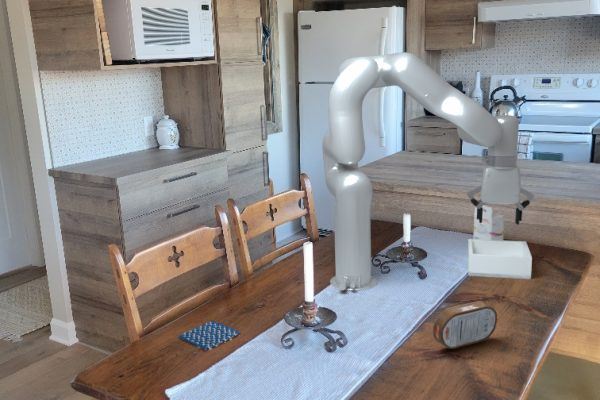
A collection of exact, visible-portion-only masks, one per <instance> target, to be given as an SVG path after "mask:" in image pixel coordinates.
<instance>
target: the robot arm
mask: <svg viewBox="0 0 600 400" xmlns="http://www.w3.org/2000/svg"><path fill="white" fill-rule="evenodd" d="M394 86H395V87H398V88H400V90H402V91H404V93H406V94H407V95H409V96H410V97H411V98H412V99H413V100H415V101H416V102H417V103H418V104H419V105H421V106H422V107H423V108H424V109H425V110H426V111H428V112H429V113H431V114H433V115H435V116H437V117H439V118H442V119H445V120H446V121H448V122H451V123H452V124H454V125H456V126H457V127H456V132H457V136H458V137H459V138H460V139H461V140H462V141H463V142H466V143H468V144H471V145H476V146H480V147H482V148H483V147H484V148H487V155H486V156H483V157H481V163H486V164H487V165H484V167H483V172H482V177H481V185H480V186H478V187H476V188H473V189H471V190H469V191H467V193H466V194H467V196H468V198H469V201H470V202H471V204H473V206H474V208H475V207H476V208H477V219H479V223H482V214H483V211H484V208H483V209H482V206H483V205H484V206H485V204H492V205H493V204H494V205H515V206H516V208H515V220H514V222H515V225H517V226H519V225H520V222H522V218H523V211H524V209H526V208H527V207H528V206H529V205H530V203H531V202H532V201H533V198H534V197H535V194H534V193H533V192H531V191H529V190H527V189H525V188H523V187H521V186H522V184H521V182H522V181H521V180H522V179H521V170H520V166H519V165H517V161H518V144H519V129H520V128H519V127H520V126H519V125H520V121H519V118H518V117H517V116H515V115H510V114H509V115H507V114H506V115H505V114H504V115H503V114H499V115H494V114H491V112H489V111H488V110H487V109H486V108H485V107H484V106H483V105H481V104H480V103H478V102H477V101H475V100H474V99H473V98H471V97H469V96H468V95H466V94H465V93H463V92H462V91H460V90H459V89H457V88H455V87H454V86H452V85H451V84H450V83H449V82H447V81H446V80H445V79H444V78H443V77H441V76H440V75H439V74H438V73H437V72H436V71H434V70H433V69H432V68H431V67H430V66H429V65H428V64H426V63H425V62H424V61H423V60H422V59H420V58H419V57H418V56H417V55H415V54H414V53H410V52H406V51H405V52H404V51H403V52H395V53H387V54H381V55H372V56H369V55H368V56H357V57H350V58H348V59H346V60H344V61H343V62H341V65H340V66H339V68H338V72H337V78H336V80H334V83H333V84H332V87H331V89H330V93H329V96H328V101H327V106H328V108H327V109H328V110H327V112H328V113H327V114H328V128H329V129H328V130H327V131H326V132H325V133H324V136H323V139H322V145H321V146H322V147H321V148H322V160H323V167H324V177H325V182H326V187H327V189H328V191H329V192H330V194H331V195H332V196H333V197H334V198H335V206H334V220H333V222H334V250H335V251H334V256H335V257H334V258H335V259H334V261H335V262H334V263H335V275H334V276H332V278H331V279H329V282H330V284H331V285H332V286H333V287H334V288H337V289H339V290H340V291H351V292H359V291H367V290H370V289H373V288H374V287H376V286H377V284H378V280H377V278H375V276H373V275H372V246H371V245H372V238H371V237H372V235H371V234H372V231H371V227H372V225H371V221H372V220H371V218H372V217H371V215H372V214H371V213H372V205H373V204H372V203H373V194H374V193H373V192H374V190H373V186H372V182H371V179H370V178H369V177H368V176H367V175H366V173H364V172H363V171H361V170H359V162H361V160H362V159H363V158H364V156H365V153H366V152H365V151H366V142H365V133H364V123H363V102H364V100H365V98H366V96H367V94H368V93H369V92H370V91H371V90H372V89H378V88H386V87H394ZM479 193H480V199H479V200H477V199H476V198H475V195H476V194H479ZM521 194H522V195H524V196H526V198H525V199H524V200H523V201H522V202H521Z"/></svg>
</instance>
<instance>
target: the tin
mask: <svg viewBox="0 0 600 400" xmlns="http://www.w3.org/2000/svg"><path fill="white" fill-rule="evenodd" d="M497 323H498V313H497V311H496V309H495V308H494V307H492V306H491V305H489V304H488V303H487V302H485V301H482V300H478V301H473V302H468V303H465V304H461V305H455V306H452V307H447V308H446V309H444V310H443V311H441V312H440V313H439V315H438V316H437V317H436V319H435V321H434V323H433V327H432V334H433V335H432V336H433V338H434V340H435V341H436V342H437V343H438V344H439V345H441V346H443V347H445V348H447V349H452V350H453V349H458V348H462V347H466V346H468V345H472V344H478V343H479V342H480V343H482V342H484V341H486V340H488V339H489V338H490V337H491V336H492V335H493V333H494V331H495V330H496V328H497Z"/></svg>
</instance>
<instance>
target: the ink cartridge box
mask: <svg viewBox="0 0 600 400" xmlns="http://www.w3.org/2000/svg"><path fill="white" fill-rule="evenodd" d="M482 209H483V214H482V223H479V219H477V208H476V207H475V206H474V213H473V237H472V239H480V240H504V229H505V228H504V226H505V225H504V224H505V216H504V215H501V214H497V213H494V212H493V211H494V210H493V207H490V206H487V205H485V204H484V205H483V206H482Z"/></svg>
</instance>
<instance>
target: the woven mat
mask: <svg viewBox="0 0 600 400" xmlns="http://www.w3.org/2000/svg"><path fill="white" fill-rule="evenodd" d="M241 335H242V333H241V331H239V329H234V328H233V327H229V326H228V325H225V324H224V323H221V324H220V322H215V320H211V321H209V322H205V324H204V325H203V324H200V326H198V327H196V328H192V329H190V330H189V331H185V332H184V333H182V334H180V335H178V338H179V339H182V340H183V341H186V342H187V343H190V344H192V345H195V346H196V347H197V349H198V350H202V351H203V353H206V352H209V351H212V350H213V348H216V347H218V346H220V347H221V345H222V344H225V343H227V342H228V341H232V340H233V339H234V338H237V337H241Z"/></svg>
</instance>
